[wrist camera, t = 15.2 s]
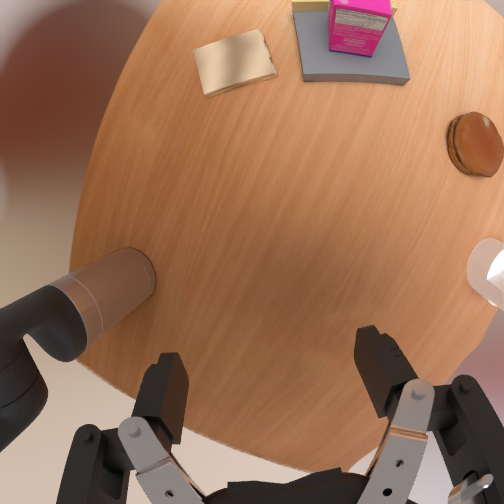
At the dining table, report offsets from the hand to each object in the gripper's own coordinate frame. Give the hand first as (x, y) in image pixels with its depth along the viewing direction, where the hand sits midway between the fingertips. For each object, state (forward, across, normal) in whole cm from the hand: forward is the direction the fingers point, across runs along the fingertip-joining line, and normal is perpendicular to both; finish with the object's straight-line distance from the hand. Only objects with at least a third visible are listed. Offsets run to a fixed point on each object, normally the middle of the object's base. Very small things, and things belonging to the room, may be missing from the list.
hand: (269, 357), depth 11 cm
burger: (+22, -33, -8) cm, 41 cm away
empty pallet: (+30, -1, -20) cm, 37 cm away
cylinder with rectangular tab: (+18, -36, +10) cm, 42 cm away
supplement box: (+24, -16, -22) cm, 36 cm away
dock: (+27, -16, -22) cm, 39 cm away
